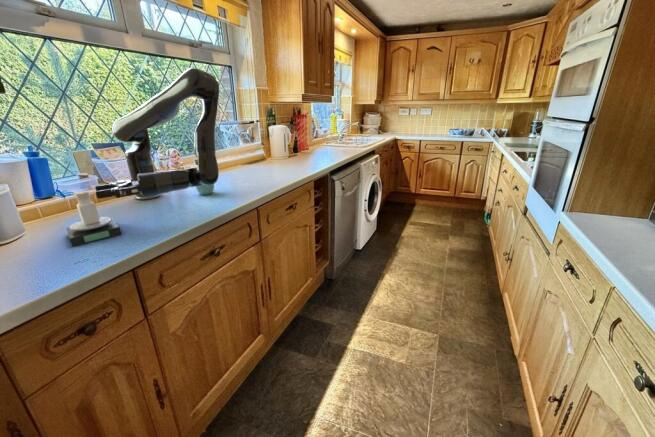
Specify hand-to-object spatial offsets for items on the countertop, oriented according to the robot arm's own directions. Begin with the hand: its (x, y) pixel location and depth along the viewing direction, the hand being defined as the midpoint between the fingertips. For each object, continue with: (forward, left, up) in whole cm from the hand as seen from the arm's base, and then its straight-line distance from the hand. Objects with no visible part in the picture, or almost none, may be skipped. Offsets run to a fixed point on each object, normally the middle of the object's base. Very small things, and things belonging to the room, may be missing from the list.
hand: (96, 192), depth 91 cm
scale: (0, -3, -13) cm, 13 cm away
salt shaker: (0, -3, -9) cm, 10 cm away
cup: (-21, +41, -13) cm, 48 cm away
